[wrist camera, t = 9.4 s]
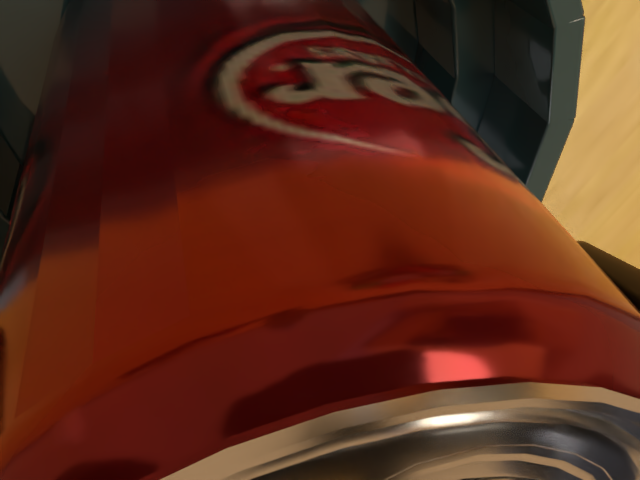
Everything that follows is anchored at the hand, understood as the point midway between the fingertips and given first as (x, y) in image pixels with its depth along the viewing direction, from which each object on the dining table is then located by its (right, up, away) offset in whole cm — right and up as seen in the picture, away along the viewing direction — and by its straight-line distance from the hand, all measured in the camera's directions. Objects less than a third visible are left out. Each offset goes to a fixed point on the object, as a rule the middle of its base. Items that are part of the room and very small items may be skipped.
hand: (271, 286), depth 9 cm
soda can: (-2, +5, +6) cm, 8 cm away
